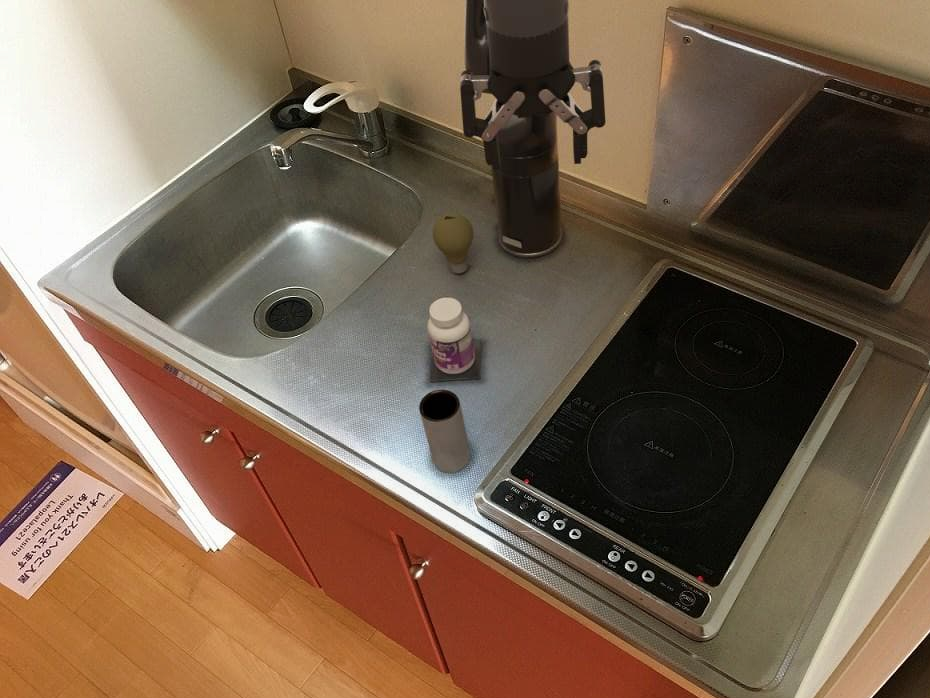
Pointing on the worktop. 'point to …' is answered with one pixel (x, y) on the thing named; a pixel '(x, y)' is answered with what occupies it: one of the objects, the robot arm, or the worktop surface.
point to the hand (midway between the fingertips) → (536, 162)
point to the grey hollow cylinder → (445, 430)
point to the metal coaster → (469, 374)
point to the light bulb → (454, 239)
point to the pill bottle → (450, 336)
